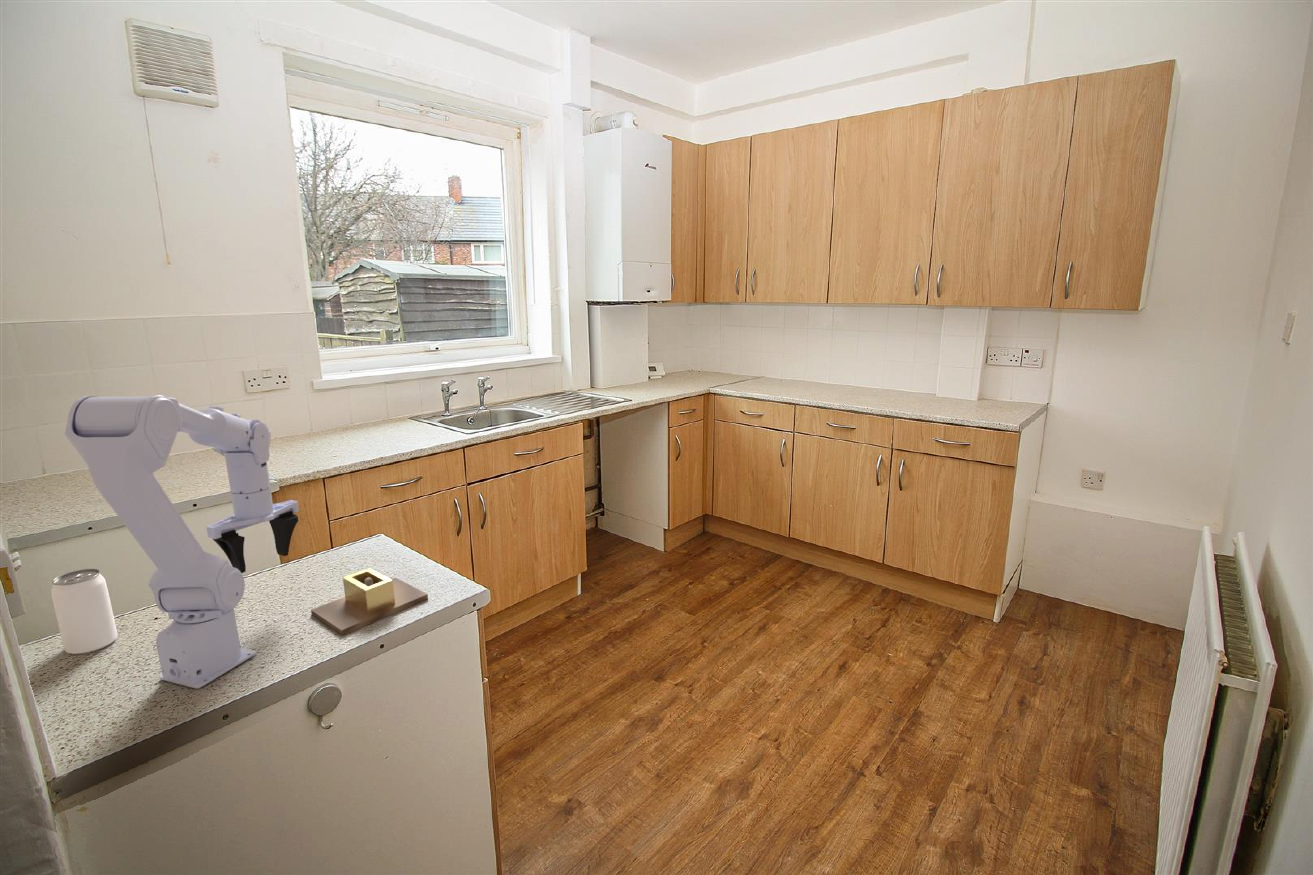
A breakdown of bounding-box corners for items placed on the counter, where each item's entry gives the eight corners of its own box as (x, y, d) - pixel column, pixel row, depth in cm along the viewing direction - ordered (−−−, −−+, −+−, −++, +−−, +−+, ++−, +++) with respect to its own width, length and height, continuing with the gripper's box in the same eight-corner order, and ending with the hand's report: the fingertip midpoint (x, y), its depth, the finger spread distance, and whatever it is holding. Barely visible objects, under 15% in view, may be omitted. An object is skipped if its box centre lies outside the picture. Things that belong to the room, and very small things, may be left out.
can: (128, 634, 104) (114, 568, 102) (90, 657, 98) (74, 586, 95) (93, 632, 105) (78, 566, 102) (53, 654, 99) (36, 584, 96)
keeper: (342, 635, 104) (338, 604, 103) (311, 614, 111) (307, 585, 109) (428, 599, 117) (425, 570, 115) (395, 582, 123) (393, 555, 122)
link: (394, 602, 113) (392, 580, 112) (368, 614, 109) (365, 590, 108) (372, 590, 118) (369, 568, 117) (345, 600, 114) (342, 577, 113)
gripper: (220, 505, 99) (233, 584, 102) (305, 480, 111) (315, 551, 114) (194, 498, 102) (207, 575, 105) (280, 475, 114) (290, 544, 117)
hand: (262, 562), depth 110 cm, fingers open, 7 cm apart
